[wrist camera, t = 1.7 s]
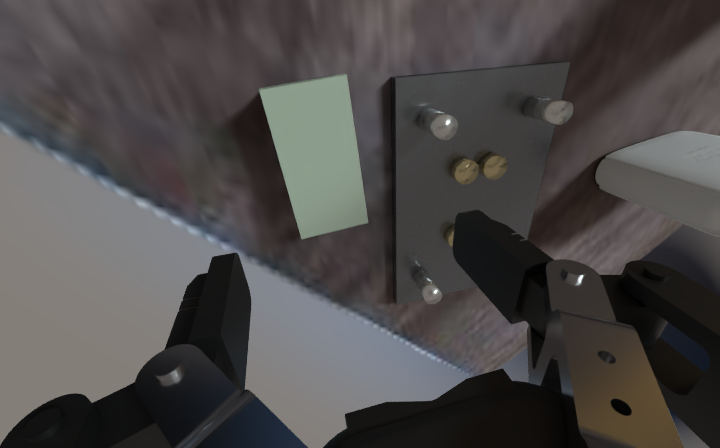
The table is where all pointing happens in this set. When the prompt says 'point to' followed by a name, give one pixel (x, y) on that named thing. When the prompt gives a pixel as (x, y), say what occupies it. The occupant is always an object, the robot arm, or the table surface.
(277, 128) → the grey green block
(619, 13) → the table surface
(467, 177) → the plate
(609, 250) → the table surface
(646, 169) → the photo printer
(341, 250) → the table surface
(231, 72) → the table surface
